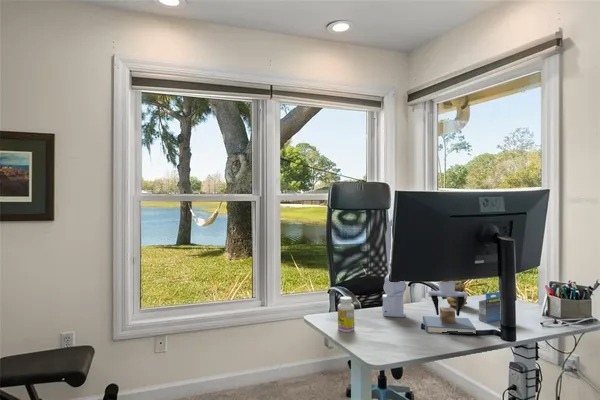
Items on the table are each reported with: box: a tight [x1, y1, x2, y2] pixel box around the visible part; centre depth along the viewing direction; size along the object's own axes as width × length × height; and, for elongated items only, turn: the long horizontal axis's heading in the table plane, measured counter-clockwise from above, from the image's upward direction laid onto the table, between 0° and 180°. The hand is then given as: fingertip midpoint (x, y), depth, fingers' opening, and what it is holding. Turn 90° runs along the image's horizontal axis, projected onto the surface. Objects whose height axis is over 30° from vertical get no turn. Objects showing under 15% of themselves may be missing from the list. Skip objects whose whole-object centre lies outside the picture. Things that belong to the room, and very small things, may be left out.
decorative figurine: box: [446, 281, 468, 309], centre depth 179 cm, size 10×8×15 cm
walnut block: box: [439, 306, 456, 324], centre depth 149 cm, size 5×5×5 cm
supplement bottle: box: [337, 295, 356, 333], centre depth 149 cm, size 7×7×13 cm
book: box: [422, 315, 477, 334], centre depth 148 cm, size 18×13×3 cm
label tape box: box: [478, 291, 501, 324], centre depth 157 cm, size 9×4×12 cm, turn 113°
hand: (447, 314), depth 148 cm, fingers open, 7 cm apart
